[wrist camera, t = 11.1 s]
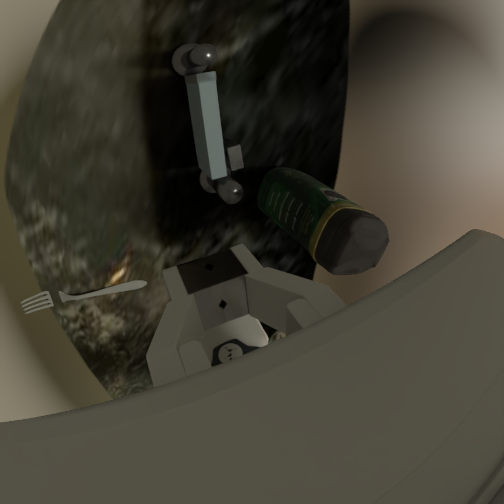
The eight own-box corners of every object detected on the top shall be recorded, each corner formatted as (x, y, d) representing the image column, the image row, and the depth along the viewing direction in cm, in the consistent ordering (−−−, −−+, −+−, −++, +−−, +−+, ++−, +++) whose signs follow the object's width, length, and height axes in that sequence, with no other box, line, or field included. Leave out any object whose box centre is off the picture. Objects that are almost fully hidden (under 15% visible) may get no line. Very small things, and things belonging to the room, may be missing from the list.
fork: (165, 286, 44) (167, 293, 42) (27, 308, 33) (25, 316, 32) (163, 270, 42) (166, 276, 41) (20, 293, 32) (18, 300, 30)
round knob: (210, 72, 29) (229, 69, 24) (175, 80, 28) (187, 78, 23) (204, 40, 26) (222, 31, 22) (168, 48, 25) (179, 39, 20)
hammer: (236, 184, 39) (257, 202, 35) (203, 196, 38) (219, 216, 33) (227, 138, 35) (248, 149, 30) (191, 149, 34) (206, 162, 29)
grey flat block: (184, 76, 28) (196, 74, 24) (200, 73, 28) (215, 71, 24) (198, 167, 35) (211, 180, 31) (212, 163, 36) (227, 175, 31)
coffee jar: (248, 210, 43) (324, 285, 29) (264, 160, 39) (356, 217, 26) (297, 217, 48) (375, 282, 34) (314, 173, 44) (403, 227, 31)
